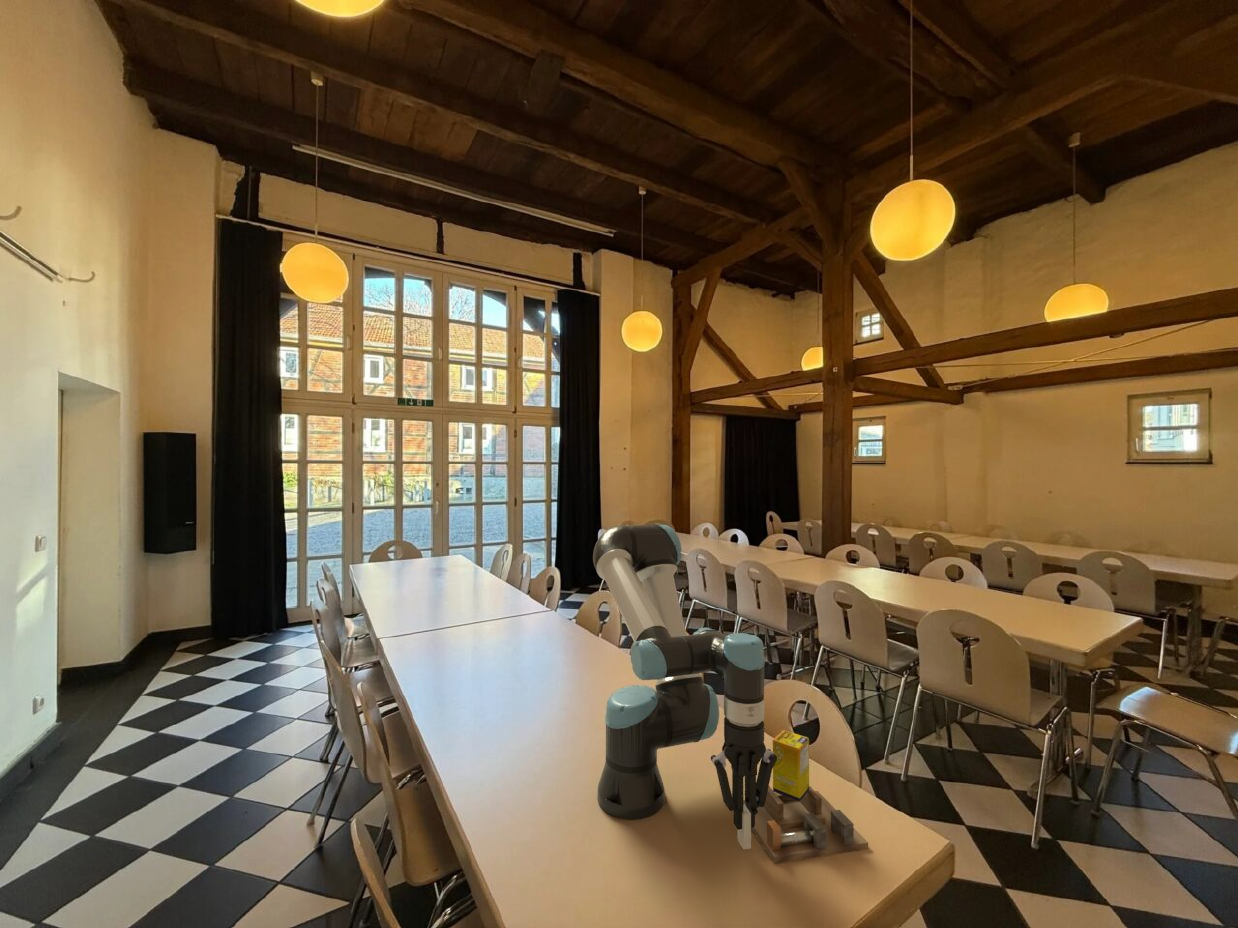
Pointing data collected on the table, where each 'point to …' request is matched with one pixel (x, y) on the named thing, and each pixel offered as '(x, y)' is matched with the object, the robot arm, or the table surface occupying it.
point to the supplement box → (791, 765)
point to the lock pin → (786, 836)
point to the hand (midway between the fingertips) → (744, 843)
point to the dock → (806, 826)
